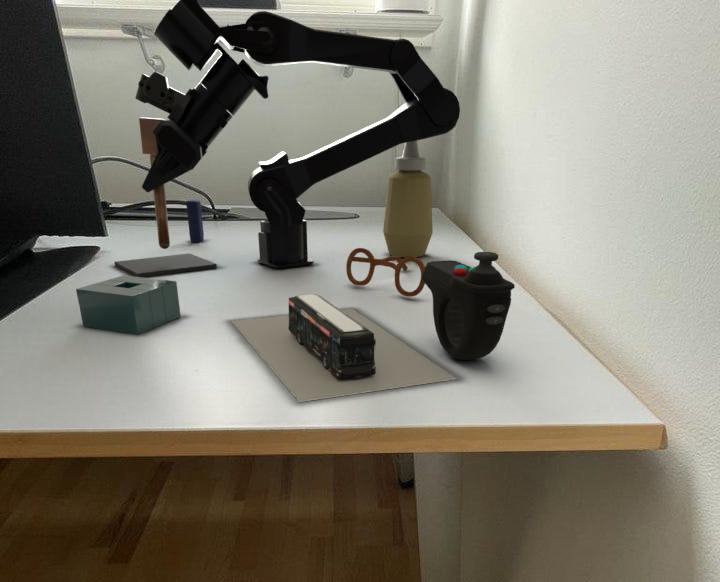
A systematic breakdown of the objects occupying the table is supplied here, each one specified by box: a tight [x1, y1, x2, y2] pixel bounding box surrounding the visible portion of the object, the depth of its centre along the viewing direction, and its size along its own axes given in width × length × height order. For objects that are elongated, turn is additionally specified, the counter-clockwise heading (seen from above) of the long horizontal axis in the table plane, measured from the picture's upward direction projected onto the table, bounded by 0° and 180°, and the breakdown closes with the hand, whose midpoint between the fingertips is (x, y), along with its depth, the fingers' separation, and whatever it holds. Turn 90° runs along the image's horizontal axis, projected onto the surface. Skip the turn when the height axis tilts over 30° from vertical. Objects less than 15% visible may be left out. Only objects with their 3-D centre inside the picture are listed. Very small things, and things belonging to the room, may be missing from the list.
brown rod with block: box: [138, 117, 171, 250], centre depth 93 cm, size 3×2×17 cm, turn 77°
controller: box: [422, 251, 516, 361], centre depth 62 cm, size 4×12×10 cm, turn 19°
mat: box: [114, 253, 218, 278], centre depth 99 cm, size 12×10×1 cm
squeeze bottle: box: [382, 140, 434, 259], centre depth 104 cm, size 8×8×18 cm
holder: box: [75, 275, 182, 335], centre depth 72 cm, size 7×7×4 cm
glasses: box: [345, 247, 426, 297], centre depth 88 cm, size 13×13×5 cm
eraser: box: [185, 199, 205, 243], centre depth 116 cm, size 2×2×7 cm
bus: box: [230, 293, 457, 403], centre depth 65 cm, size 14×25×4 cm, turn 22°
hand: (145, 189), depth 93 cm, fingers closed on brown rod with block, 1 cm apart
